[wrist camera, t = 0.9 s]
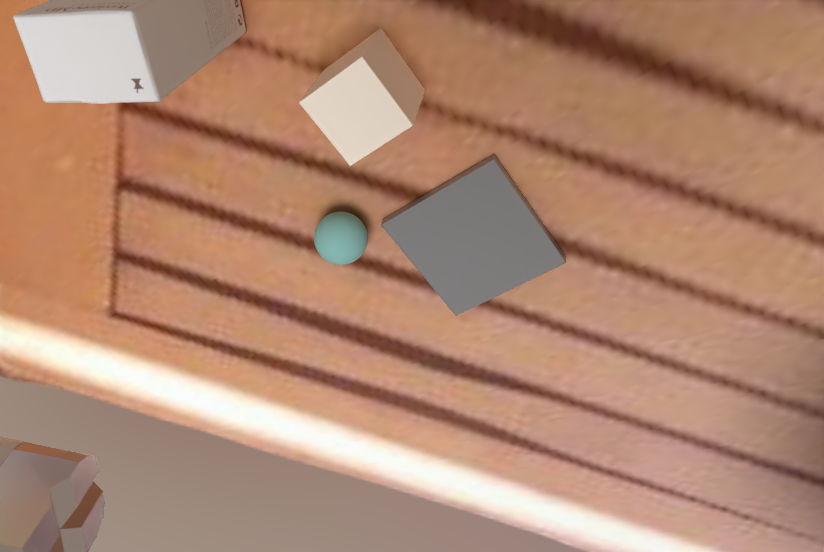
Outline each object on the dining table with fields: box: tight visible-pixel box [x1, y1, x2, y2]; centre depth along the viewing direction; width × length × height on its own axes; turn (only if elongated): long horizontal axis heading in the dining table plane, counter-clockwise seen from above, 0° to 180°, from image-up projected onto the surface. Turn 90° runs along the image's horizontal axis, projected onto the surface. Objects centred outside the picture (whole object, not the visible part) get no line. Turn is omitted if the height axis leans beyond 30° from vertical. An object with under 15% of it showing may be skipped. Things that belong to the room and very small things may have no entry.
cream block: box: [299, 28, 425, 166], centre depth 40 cm, size 4×4×6 cm
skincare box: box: [13, 0, 246, 104], centre depth 36 cm, size 6×4×12 cm
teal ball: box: [314, 212, 368, 265], centre depth 47 cm, size 4×4×4 cm
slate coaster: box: [381, 154, 566, 315], centre depth 47 cm, size 9×9×1 cm
